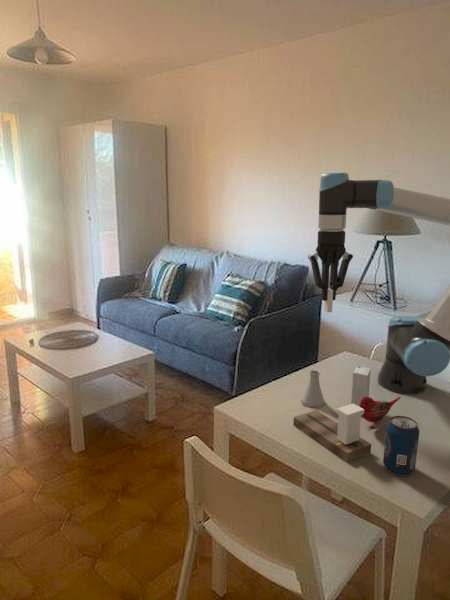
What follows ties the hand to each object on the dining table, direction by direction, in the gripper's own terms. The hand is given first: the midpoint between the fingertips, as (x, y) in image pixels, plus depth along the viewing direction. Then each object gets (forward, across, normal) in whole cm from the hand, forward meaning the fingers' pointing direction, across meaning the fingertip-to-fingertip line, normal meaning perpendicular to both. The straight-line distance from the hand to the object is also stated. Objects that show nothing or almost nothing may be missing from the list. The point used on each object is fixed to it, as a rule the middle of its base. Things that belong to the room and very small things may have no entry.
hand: (327, 311), depth 134 cm
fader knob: (+25, +5, +28) cm, 38 cm away
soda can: (+29, -3, +37) cm, 47 cm away
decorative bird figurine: (+28, -9, +17) cm, 34 cm away
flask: (+28, +4, +2) cm, 29 cm away
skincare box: (+28, -8, +8) cm, 30 cm away
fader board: (+28, +7, +22) cm, 36 cm away
